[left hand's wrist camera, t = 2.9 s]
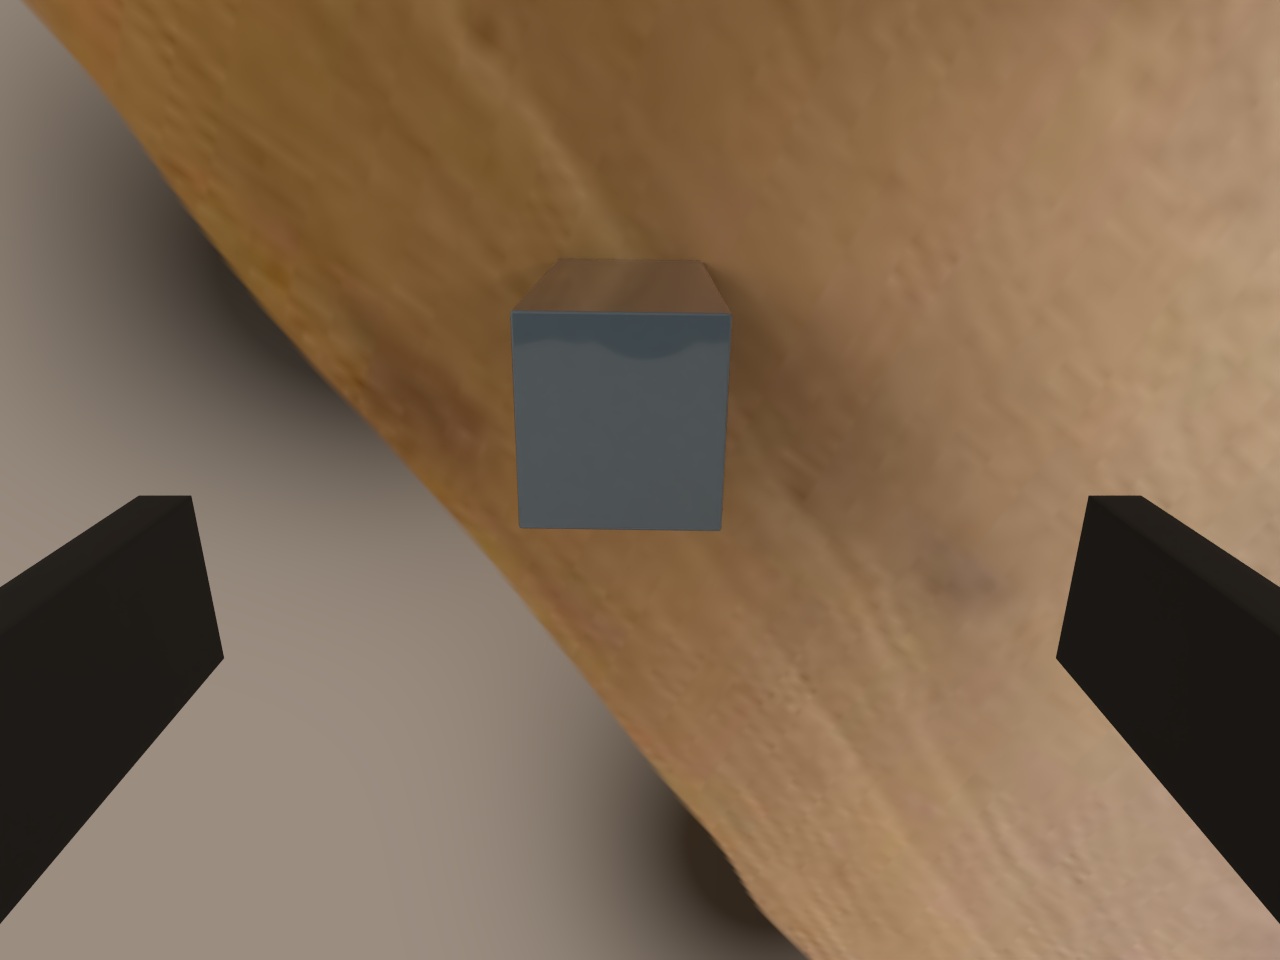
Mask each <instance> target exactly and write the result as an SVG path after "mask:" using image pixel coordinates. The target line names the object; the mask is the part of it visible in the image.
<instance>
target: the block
mask: <svg viewBox="0 0 1280 960" xmlns="http://www.w3.org/2000/svg"><path fill="white" fill-rule="evenodd" d="M510 319H511V343H512V367H513V390H514V414H515V438H516V462H517V486H518V510H519V526H520V528H546V529H618V530H690V531H720V530H721V528H722V508H723V489H724V469H725V450H726V430H727V411H728V391H729V371H730V352H731V332H732V314H731V312H730V310H729V309H728V307H727V305H726V303H725V301H724V300H723V298H722V296H721V294H720V293H719V291H718V289H717V287H716V286H715V284H714V282H713V280H712V279H711V277H710V275H709V273H708V272H707V270H706V268H705V266H704V265H703V263H702V261H683V260H609V259H558V260H557V261H556V262H555V263H554V264H553V265H552V266H551V267H550V268H549V270H548V271H547V272H546V273H545V274H544V275H543V276H542V277H541V278H540V279H539V281H538V282H537V283H536V284H535V285H534V286H533V287H532V288H531V289H530V291H529V292H528V293H527V294H526V295H525V296H524V297H523V298H522V299H521V300H520V302H519V303H518V304H517V305H516V306H515V307H514V308H513V309H512V310H511V312H510Z"/></svg>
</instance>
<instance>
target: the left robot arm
mask: <svg viewBox="0 0 1280 960" xmlns="http://www.w3.org/2000/svg"><path fill="white" fill-rule="evenodd" d="M223 659H224V655H223V651H222V646H221V641H220V636H219V631H218V626H217V621H216V616H215V611H214V606H213V601H212V596H211V591H210V586H209V581H208V576H207V571H206V566H205V562H204V556H203V551H202V547H201V542H200V537H199V532H198V527H197V522H196V517H195V512H194V507H193V502H192V497H191V496H138V497H136V498H135V499H133V500H132V501H130V502H129V503H127V504H126V505H124V506H123V507H121V508H120V509H118V510H116V511H115V512H113V513H112V514H110V515H109V516H107V517H106V518H104V519H103V520H101V521H100V522H98V523H97V524H95V525H94V526H92V527H91V528H89V529H88V530H86V531H85V532H83V533H82V534H80V535H79V536H77V537H76V538H74V539H73V540H71V541H70V542H68V543H66V544H65V545H63V546H62V547H60V548H59V549H57V550H56V551H54V552H53V553H51V554H50V555H48V556H47V557H45V558H44V559H42V560H41V561H39V562H38V563H36V564H35V565H33V566H32V567H30V568H29V569H27V570H26V571H24V572H23V573H21V574H20V575H18V576H17V577H15V578H14V579H12V580H11V581H9V582H8V583H6V584H4V585H3V586H1V587H0V923H1V922H2V921H3V920H4V919H5V917H6V916H7V915H8V914H9V913H10V911H11V910H12V909H13V908H14V907H15V906H16V904H17V903H18V902H19V901H20V900H21V898H22V897H23V896H24V895H25V894H26V893H27V891H28V890H29V889H30V888H31V887H32V885H33V884H34V883H35V882H36V881H37V879H38V878H39V877H40V876H41V875H42V874H43V872H44V871H45V870H46V869H47V868H48V866H49V865H50V864H51V863H52V862H53V861H54V859H55V858H56V857H57V856H58V855H59V853H60V852H61V851H62V850H63V849H64V847H65V846H66V845H67V844H68V843H69V842H70V840H71V839H72V838H73V837H74V836H75V834H76V833H77V832H78V831H79V830H80V828H81V827H82V826H83V825H84V824H85V822H86V821H87V820H88V819H89V818H90V817H91V815H92V814H93V813H94V812H95V811H96V809H97V808H98V807H99V806H100V805H101V804H102V802H103V801H104V800H105V799H106V798H107V796H108V795H109V794H110V793H111V792H112V790H113V789H114V788H115V787H116V786H117V785H118V783H119V782H120V781H121V780H122V779H123V777H124V776H125V775H126V774H127V773H128V771H129V770H130V769H131V768H132V767H133V766H134V764H135V763H136V762H137V761H138V760H139V758H140V757H141V756H142V755H143V754H144V753H145V751H146V750H147V749H148V748H149V747H150V745H151V744H152V743H153V742H154V741H155V739H156V738H157V737H158V736H159V735H160V734H161V732H162V731H163V730H164V729H165V728H166V726H167V725H168V724H169V723H170V722H171V720H172V719H173V718H174V717H175V716H176V715H177V713H178V712H179V711H180V710H181V709H182V707H183V706H184V705H185V704H186V703H187V701H188V700H189V699H190V698H191V697H192V696H193V694H194V693H195V692H196V691H197V690H198V688H199V687H200V686H201V685H202V684H203V682H204V681H205V680H206V679H207V678H208V676H209V675H210V674H211V673H212V672H213V671H214V669H215V668H216V667H217V666H218V665H219V663H220V662H221V661H222V660H223ZM1056 659H1057V660H1058V661H1059V662H1060V664H1061V665H1062V666H1063V667H1064V668H1065V669H1066V671H1067V672H1068V673H1069V674H1070V675H1071V677H1072V678H1073V679H1074V680H1075V681H1076V683H1077V684H1078V685H1079V686H1080V687H1081V688H1082V690H1083V691H1084V692H1085V693H1086V694H1087V696H1088V697H1089V698H1090V699H1091V700H1092V701H1093V703H1094V704H1095V705H1096V706H1097V707H1098V709H1099V710H1100V711H1101V712H1102V713H1103V715H1104V716H1105V717H1106V718H1107V719H1108V720H1109V722H1110V723H1111V724H1112V725H1113V726H1114V728H1115V729H1116V730H1117V731H1118V732H1119V734H1120V735H1121V736H1122V737H1123V738H1124V739H1125V741H1126V742H1127V743H1128V744H1129V745H1130V747H1131V748H1132V749H1133V750H1134V751H1135V753H1136V754H1137V755H1138V756H1139V757H1140V758H1141V760H1142V761H1143V762H1144V763H1145V764H1146V766H1147V767H1148V768H1149V769H1150V770H1151V772H1152V773H1153V774H1154V775H1155V776H1156V777H1157V779H1158V780H1159V781H1160V782H1161V783H1162V785H1163V786H1164V787H1165V788H1166V789H1167V790H1168V792H1169V793H1170V794H1171V795H1172V796H1173V798H1174V799H1175V800H1176V801H1177V802H1178V804H1179V805H1180V806H1181V807H1182V808H1183V809H1184V811H1185V812H1186V813H1187V814H1188V815H1189V817H1190V818H1191V819H1192V820H1193V821H1194V823H1195V824H1196V825H1197V826H1198V827H1199V828H1200V830H1201V831H1202V832H1203V833H1204V834H1205V836H1206V837H1207V838H1208V839H1209V840H1210V842H1211V843H1212V844H1213V845H1214V846H1215V847H1216V849H1217V850H1218V851H1219V852H1220V853H1221V855H1222V856H1223V857H1224V858H1225V859H1226V861H1227V862H1228V863H1229V864H1230V865H1231V866H1232V868H1233V869H1234V870H1235V871H1236V872H1237V874H1238V875H1239V876H1240V877H1241V878H1242V880H1243V881H1244V882H1245V883H1246V884H1247V885H1248V887H1249V888H1250V889H1251V890H1252V891H1253V893H1254V894H1255V895H1256V896H1257V897H1258V898H1259V900H1260V901H1261V902H1262V903H1263V904H1264V906H1265V907H1266V908H1267V909H1268V910H1269V912H1270V913H1271V914H1272V915H1273V916H1274V917H1275V919H1276V920H1277V921H1278V922H1279V923H1280V587H1279V586H1277V585H1276V584H1274V583H1273V582H1271V581H1270V580H1268V579H1266V578H1265V577H1263V576H1262V575H1260V574H1259V573H1257V572H1256V571H1254V570H1253V569H1251V568H1250V567H1248V566H1247V565H1245V564H1244V563H1242V562H1241V561H1239V560H1238V559H1236V558H1235V557H1233V556H1232V555H1230V554H1229V553H1227V552H1226V551H1224V550H1223V549H1221V548H1220V547H1218V546H1217V545H1215V544H1214V543H1212V542H1210V541H1209V540H1207V539H1206V538H1204V537H1203V536H1201V535H1200V534H1198V533H1197V532H1195V531H1194V530H1192V529H1191V528H1189V527H1188V526H1186V525H1185V524H1183V523H1182V522H1180V521H1179V520H1177V519H1176V518H1174V517H1173V516H1171V515H1170V514H1168V513H1167V512H1165V511H1164V510H1162V509H1161V508H1159V507H1158V506H1156V505H1155V504H1153V503H1151V502H1150V501H1148V500H1147V499H1145V498H1144V497H1142V496H1089V497H1088V502H1087V507H1086V512H1085V517H1084V522H1083V527H1082V532H1081V537H1080V542H1079V547H1078V551H1077V556H1076V561H1075V566H1074V571H1073V576H1072V581H1071V586H1070V591H1069V596H1068V601H1067V606H1066V611H1065V616H1064V621H1063V626H1062V631H1061V636H1060V641H1059V646H1058V650H1057V655H1056Z"/></svg>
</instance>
